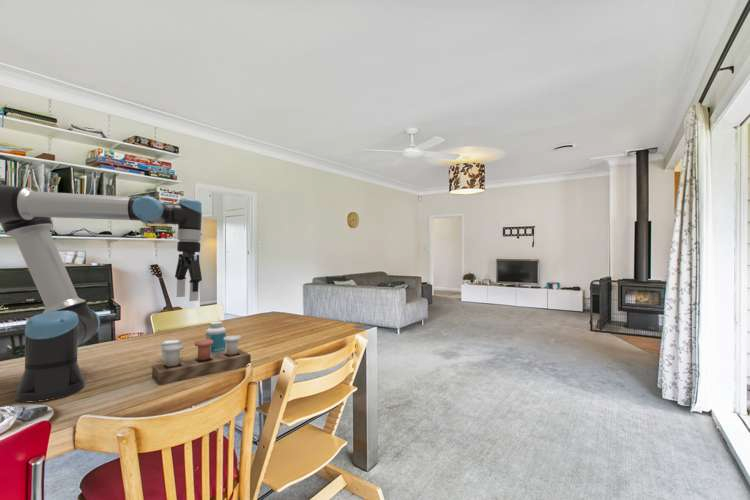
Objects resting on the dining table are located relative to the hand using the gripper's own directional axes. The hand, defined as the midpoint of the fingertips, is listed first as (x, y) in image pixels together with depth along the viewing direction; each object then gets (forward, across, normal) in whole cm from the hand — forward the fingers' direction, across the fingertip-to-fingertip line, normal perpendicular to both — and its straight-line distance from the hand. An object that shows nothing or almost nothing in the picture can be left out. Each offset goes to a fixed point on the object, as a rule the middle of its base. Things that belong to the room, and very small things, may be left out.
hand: (186, 298), depth 130 cm
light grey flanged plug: (+26, +14, 0) cm, 29 cm away
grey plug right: (+20, -10, -13) cm, 26 cm away
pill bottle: (+25, +7, -14) cm, 30 cm away
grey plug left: (+21, -9, +7) cm, 23 cm away
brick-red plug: (+20, -9, -3) cm, 23 cm away
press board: (+25, -9, -4) cm, 27 cm away
